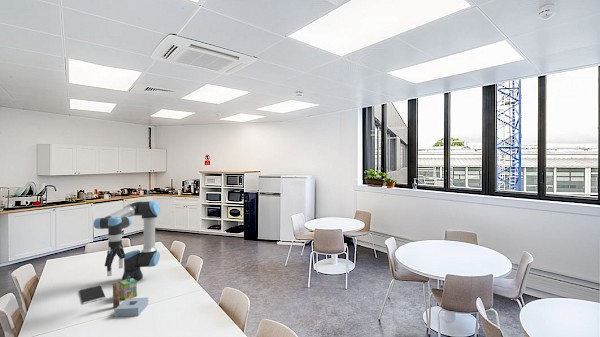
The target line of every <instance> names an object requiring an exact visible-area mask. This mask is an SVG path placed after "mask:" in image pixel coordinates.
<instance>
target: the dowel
mask: <svg viewBox="0 0 600 337" xmlns="http://www.w3.org/2000/svg"><path fill="white" fill-rule="evenodd" d="M120 302H121V301H120V298H119V281H118V282H114V283H112V306H113V307H112V309H114V310H115V309H116V308H117V307H118V306H119V305H120V304H121V303H120Z"/></svg>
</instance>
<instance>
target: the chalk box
mask: <svg viewBox="0 0 600 337" xmlns="http://www.w3.org/2000/svg"><path fill="white" fill-rule="evenodd" d="M128 278H129V279H128ZM118 282H119V299H121V300H122V302H123V301H124V300H125V299H128V298H137V296H138V292H137V291H138V289H137V288H138V287H137V286H138V281H136V280H135V279H133V278H131V277H130V276H127V279H126V280H122V279H121V280H119V281H118Z"/></svg>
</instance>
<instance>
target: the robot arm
mask: <svg viewBox="0 0 600 337" xmlns="http://www.w3.org/2000/svg"><path fill="white" fill-rule="evenodd" d="M160 213H161V206H160V204H159V202H157V201H150V200H149V201H135V202H132V203H130V204H127V205H124V206H123V207H122V208H121V209H120V210H117V211H115V212H113V213H111V214H109V215H107V216H104V217H97V218H95V219H94V221H93V227H94V228H95V229H96V230H98V229H99V230H104V229H105V230H107V234H108V235H107V237H108V238H107V239H108V242H107V243H108V244H107V245H108V248H110V249H109V250H107V253H106V258H105V261H104V267H106V273H107V274H106V275H107V276H106V277H112V276H113V265H112V264H113V261H114V259H115V257H116V256H118V257H117V258H118V269H123V274H122V276H121V281H122V280H126V279H127V276H130V277H131V278H133V279H135V280H136V281H137V282H138V281H141V280H142V279H143V277H144V273H143V272H142V269H141V268H151V267H155V266H157V265H158V263H159V261H160V259H161V254H160V252H159V251H158V249H157V248H156V219H157V218H158V216H159V215H160ZM134 216H135V217H136V216H140V217H141V219H142V220H143V249H142V250H139V249H135V250H131V251H128V252H125V250H124V248H123V247H124V246H123V244H122V243H123V241H122V239H123V238H122V237H123V236H122V234H123V231H122V230H123V229H126V228H128V227H130V226H131V225H132V222H133V220H132V218H131V217H134ZM128 279H129V278H128Z"/></svg>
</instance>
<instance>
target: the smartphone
mask: <svg viewBox="0 0 600 337" xmlns="http://www.w3.org/2000/svg"><path fill="white" fill-rule="evenodd" d="M78 292H79V296H80V300H81V304H82V305H86V304H87V305H88V304H91V303H93V302H98V301H100V300H105V299H106V294H105V293H104V290H103V287H102V286H101V285H96V286H91V287H87V288H84V289H83V288H82V289H80V290H79V291H78Z"/></svg>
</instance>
